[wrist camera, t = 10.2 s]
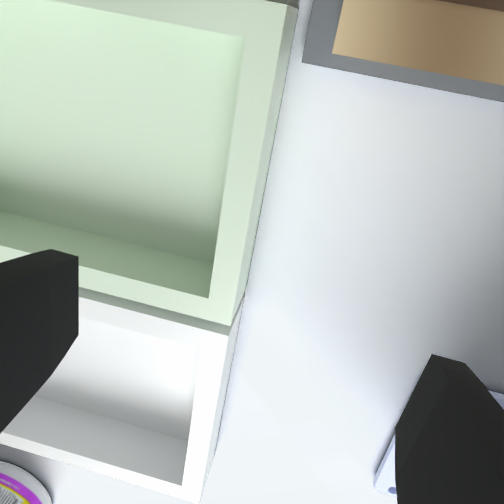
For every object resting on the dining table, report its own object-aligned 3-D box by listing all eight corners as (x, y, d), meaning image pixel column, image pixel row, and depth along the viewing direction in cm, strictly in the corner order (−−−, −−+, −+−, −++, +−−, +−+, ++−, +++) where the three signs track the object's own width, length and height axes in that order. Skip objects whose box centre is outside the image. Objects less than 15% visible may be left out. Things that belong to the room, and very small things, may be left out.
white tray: (244, 295, 20) (228, 336, 17) (214, 454, 25) (198, 504, 23) (-17, 229, 21) (-69, 257, 19) (6, 393, 26) (-33, 433, 24)
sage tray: (298, 9, 15) (287, 4, 12) (246, 286, 20) (230, 325, 17) (-57, -57, 16) (-139, -75, 13) (-18, 220, 21) (-71, 247, 18)
